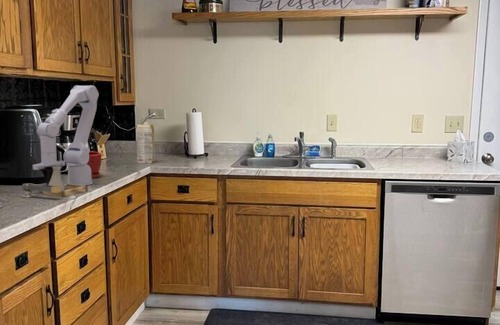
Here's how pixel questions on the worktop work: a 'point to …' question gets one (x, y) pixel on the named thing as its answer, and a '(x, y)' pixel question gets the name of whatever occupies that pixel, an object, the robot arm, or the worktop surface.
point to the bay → (69, 191)
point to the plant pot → (94, 163)
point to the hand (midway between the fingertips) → (50, 185)
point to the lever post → (27, 193)
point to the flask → (56, 178)
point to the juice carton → (145, 143)
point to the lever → (41, 187)
